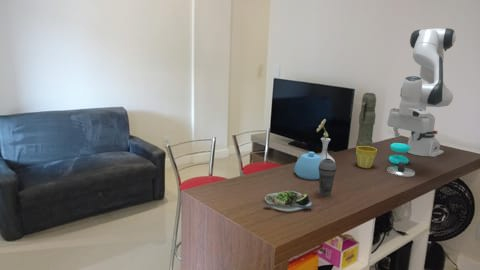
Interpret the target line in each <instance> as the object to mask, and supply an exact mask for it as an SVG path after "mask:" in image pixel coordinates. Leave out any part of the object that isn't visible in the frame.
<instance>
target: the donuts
mask: <svg viewBox="0 0 480 270" xmlns="http://www.w3.org/2000/svg"><path fill="white" fill-rule="evenodd" d="M389 148H390V149H391V150H392V151H393V152H396V153H403V154H404V153H408V151H410V146H409V145H408V143H407V144H406V143H404V142H403V143H401V142H393V143H392V144H390V147H389ZM388 161H389V163H392V164H395V165H398V163H399V162H404V163H405V165H407V164H409V162H410V161H409V158H408V157H406V156H405V155H401V154H392V155H390V156H389V157H388Z"/></svg>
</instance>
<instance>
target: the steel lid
mask: <svg viewBox="0 0 480 270" xmlns="http://www.w3.org/2000/svg"><path fill="white" fill-rule="evenodd" d="M387 171H388V172H387ZM386 172H387V173H389V174H390V173H391V175H393V174H395V175H394V176H397V175H398V177H402V176H403V177H404V178H410V177H414V176H415V175H416V171H415V170H414V169H411V168H409V167H406V164H405V163H404V162H399V163H398V164H397V165H396V166H395V165H393V166H388V167H387V168H386Z"/></svg>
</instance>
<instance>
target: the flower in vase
mask: <svg viewBox="0 0 480 270" xmlns="http://www.w3.org/2000/svg"><path fill="white" fill-rule="evenodd" d="M326 121H327V120H326V118H324V119H323V120H322V121H321V123H320V124H319V125H318V128H316V132H317V133H319V131H320V130H321V129H323V130H324V132H323V136H322V137H321V138H320V140H321V142H322V150H321V152H320V154H318V155H319V156H321V158H322V160H323V159H326V148H327V149H328V145H329V143H330V141H331V138H329V134H328V132H327V131H326V128H325V126H324V125H325V123H326ZM327 158H329V159H331V160H333V161H334V162H335V163H336V161H335V159H334V158H333V157H332V156H331V155H330V153H328V152H327Z"/></svg>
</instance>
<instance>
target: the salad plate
mask: <svg viewBox="0 0 480 270" xmlns="http://www.w3.org/2000/svg"><path fill="white" fill-rule="evenodd" d="M273 200H274V201H273ZM264 201H265V202H266V203H264V207H266V208H267V207H268V208H270V209H273V210H278V211H282V212H287V213H290V212H291V213H292V212H299V211H305V210H309V209H312V208H314V206H313V202H312V201H311V200H310V198H309V195H308V193H304V194H302V193H300V192H297V191H294V190H285V191H281V192H280V191H279V192H273V193H268V194H266V195H265V196H264Z"/></svg>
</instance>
